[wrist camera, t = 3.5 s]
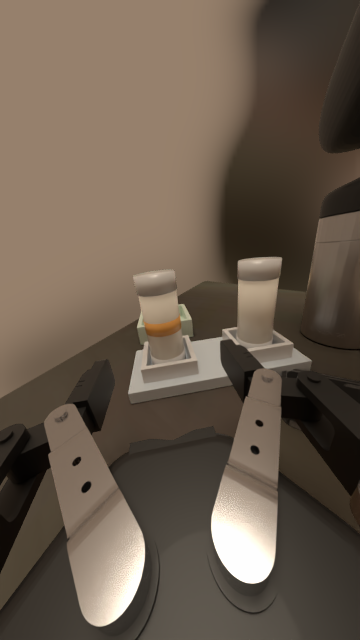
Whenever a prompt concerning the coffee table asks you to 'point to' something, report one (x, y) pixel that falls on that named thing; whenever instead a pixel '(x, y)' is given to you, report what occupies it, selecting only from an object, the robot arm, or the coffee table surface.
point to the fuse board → (204, 367)
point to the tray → (185, 324)
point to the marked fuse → (161, 315)
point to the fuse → (257, 300)
